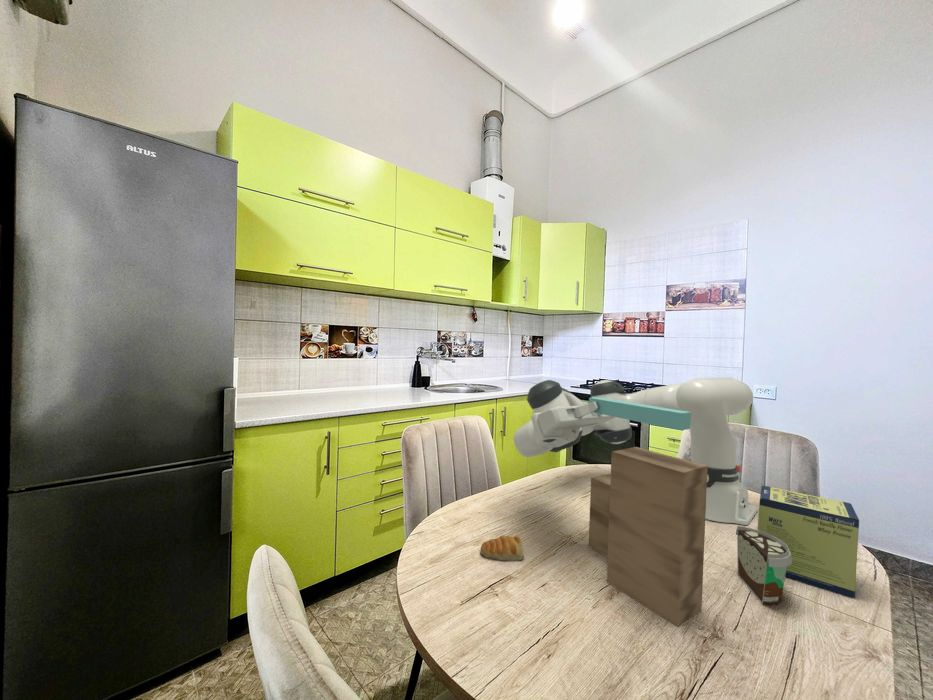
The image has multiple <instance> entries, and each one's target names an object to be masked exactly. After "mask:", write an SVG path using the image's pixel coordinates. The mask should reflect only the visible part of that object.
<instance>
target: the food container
mask: <svg viewBox="0 0 933 700" xmlns="http://www.w3.org/2000/svg"><path fill="white" fill-rule="evenodd" d="M735 535H737V536H736V537H737V538H736V539H737V542H736V543H737V576H738V578H739V579H740V580H741V581H742V582H743V584H744V585H745V586H746V587H747V589H749V591H750V592H751V593H752V594H753V595H754V596H755V598H756V599H757V600H758V602H759V603H760V604H761V605H762V606H769V607H772V606H778V605H779V604H781V603H782V601H783V593H784V586H785V581H786V577H785V574H786V568H787V566H789V565H791V563H792V558H791V553H790V551H789V549H788V546H787V545H786V544H785V543H784V542H782V541H781V540H779V539H778V538H776V537H774V536H772V535H770V534H767V533H765V532H762V531H759V530H757V529H755V528H751V527H747V526H743V525H737V528H736V531H735Z"/></svg>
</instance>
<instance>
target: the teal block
mask: <svg viewBox="0 0 933 700" xmlns="http://www.w3.org/2000/svg"><path fill="white" fill-rule="evenodd" d="M596 401H597V402H599V405H600V409H599V410H597V411H595V412H593V413H598V414H603V415H608V416H613V417H618V418H623V419H628V420H630V421H632V422H638V423H644V424H648V425H654V426H659V427H661V428H662V427H663V428H669V429H673V430H678V431H686V430H687V431H688V430H690V423H691V412H687V411H681V410H674V409H668V408H662V407H656V406H650V405H643V404H637V403H631V402H625V401H618V400H612V399H606V398H600V397H594V398H592V397H588V403H591V402H596Z"/></svg>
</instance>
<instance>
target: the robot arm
mask: <svg viewBox="0 0 933 700" xmlns="http://www.w3.org/2000/svg"><path fill="white" fill-rule="evenodd" d="M626 390H628V388H627V387H624V386H623V385H622V384H621V383H619V382H617V381H615V380H609V379H608V380H607V379H603V380H600V381H598V382H596V383H595V384H593V385H591V386H590V394H589V395H590V398H594V397H600V398H606V399H612V400H618V401H625V402H631V403H637V404H643V405H650V406H656V407H662V408H668V409H674V410H681V411H687V412H691V423H690V429H689V432H690V457H689V459H688V461H691V462H695V463H699V464H703V465H706V466H707V490H706V514H705V520H709V521H714V522H719V523H728V524H729V523H731V524H737V525H741V526H743V525H744V526H747V525H748V526H749V524H750V523H751V521H752V520H753V519H752V518H754V517H755V516H754V515H756V514H757V513H758V507H757V506H755V505H753V504H751V503H749V491H748V489H747V488H746V487H745V486H744V485H743V484H742V483H741V482H740V481H739V478H740V477H739V473H741V472H742V466H741V465H740V464H737V463H736V462H737V461H736V460H737V439H736V437H735V435H733V434H732V432H731V430H730V426H729V421H728V416H734V415H737V414H739V413H741V412H743V411H746V410H747V409H748V408H750V407H751V405H752V404H753V401H754V393H753V391H752V389H751V387H750V386H749V385H748V384H747V383H746V382H744V381H742V380H738V379H735V378H732V377H697V378H696V377H695V378H693V379H689V380H687V381H685V382H682V383H674V384H669V385H662V386H657V387H651V388H646V389H643V390H639V391H636V392H632V393H626ZM526 401H527V403H528V405H529V406H530V408H531V409H532V411H533V414H532V415H530V419H531V420H529V421H527V422H526V423H524V424H523V425H522V426H520V427H519V428H518V429H517V430H516V431H515V432H514V435H513V443H514V447H515V448H516V450H517V452H518V453H519V454H520V455H521V456H522V457H525V458H532V457H536V456H540V455H543V454H545V453H548V452H552V453H558V452H561V451H563V450H565V449H569V448H571V447H573V446H575V445H576V444H578V443H579V442H580V440H581V438H582V436H583V437H584V436H586V435H589V434H590V433H592V432H593V431H595V433H593V434H594V435H595V436H597V437H598V438H600V440H602V441H603V442H605V443H608V444H612V445H619V444H623V443H625V442H627V441H629V440H631V438H632V437H633V436H632V433H633V432H632V431H633V430H632V426H631V423H630V422H631V420H628V419H623V418H618V417H613V416H608V415H603V414H598V413H593V412H595V411H597V410H599V409H600V405H599V402H597V401H596V402H591V403H589V402H587V401H583V400H581V399H580V398H578V397H577V396H575V395H574V394H573V393H572V392H571V391H569V390H568V389H566V388H564V387H562V385H561V384H560V383H559V382H557V381H556V380H552V379H547V380H543V381H539V382H538V383H535V384H534V385H533V386H532V387H530V388H529V390H528V392H527V397H526ZM756 512H757V513H756Z"/></svg>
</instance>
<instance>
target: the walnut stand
mask: <svg viewBox="0 0 933 700" xmlns="http://www.w3.org/2000/svg"><path fill="white" fill-rule="evenodd" d="M610 461H611V462H610V463H611V465H610V473H607V474H604V475H598V476H594V477H591V478H590V494H589V495H590V500H589V525H588V526H589V527H588V529H589V530H588V547H589V548H591V549H593V550H595V551H596V552H599V553H600V554H601V555H604V556H605V557H607V564H606V566H607V567H606V582H607V583H608V584H609V585H611V586H612V587H614V588H616V589H617V590H618V591H621V592H622V593H623V594H625V595H626V596H628V597H630V598H632V599H633V600H635V601H636V602H637V603H639V604H641V605H643V606H644V607H646V608H648V610H650V611H652V612H654V613H656V614H657V615H659V616H660V617H662V618H663V619H665V620H667V621H668V622H670V623H671V624H673V625H674V626H675V627H679V626H680V625H681V624H683V623H685V622H687V621H688V620H689V619H690V618H692V617H693V616H695V615H696V614H698V613H699V612H700V611H702V607H703V606H702V605H703V587H704V584H703V582H704V581H703V580H704V562H705V561H704V558H705V557H704V555H705V539H706V538H705V536H706V535H705V534H706V533H705V532H706V519H705V514H706V490H707V466H706V465H703V464H699V463H695V462H691V461H689V460H687V459H683V458H679V457H675V456H673V455H668V454H663V453H660V452H656V451H653V450H650V449H645V448H642V447H638V446H633V447H629V448H624V449H618V450H614V451H611V459H610Z"/></svg>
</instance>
